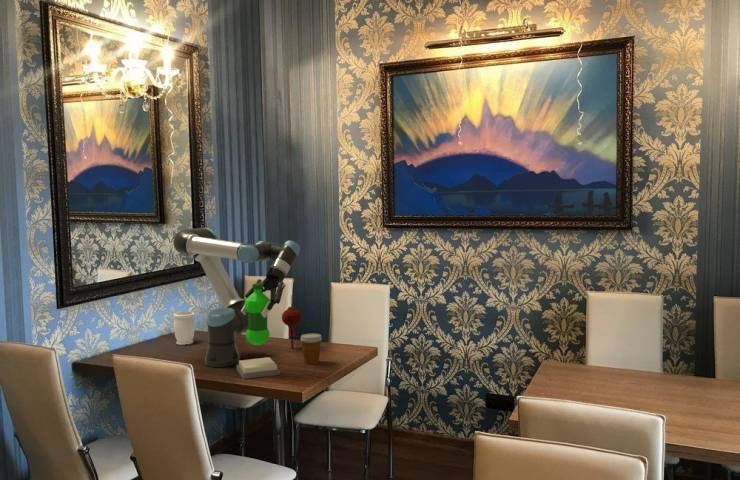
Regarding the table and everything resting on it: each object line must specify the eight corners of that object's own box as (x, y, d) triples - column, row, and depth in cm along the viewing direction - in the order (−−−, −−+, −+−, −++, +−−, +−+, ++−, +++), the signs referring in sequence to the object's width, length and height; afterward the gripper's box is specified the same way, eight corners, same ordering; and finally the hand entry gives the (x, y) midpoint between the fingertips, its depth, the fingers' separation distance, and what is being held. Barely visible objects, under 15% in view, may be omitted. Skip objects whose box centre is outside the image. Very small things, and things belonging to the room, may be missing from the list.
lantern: (304, 346, 305) (303, 285, 303) (298, 351, 296) (296, 288, 293) (286, 345, 307) (285, 284, 305) (279, 350, 298) (277, 287, 296)
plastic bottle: (271, 340, 266) (271, 282, 264) (267, 347, 256) (267, 286, 253) (248, 340, 266) (248, 281, 264) (243, 346, 256) (243, 286, 253)
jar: (174, 341, 318) (173, 312, 317) (195, 339, 322) (194, 311, 320) (174, 346, 308) (173, 316, 307) (195, 344, 311) (195, 314, 310)
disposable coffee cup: (296, 363, 274) (295, 336, 273) (308, 358, 282) (308, 332, 281) (314, 366, 269) (314, 338, 269) (326, 361, 278) (326, 334, 277)
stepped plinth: (236, 369, 266) (236, 360, 265) (271, 365, 271) (270, 356, 271) (243, 379, 252) (243, 369, 252) (279, 374, 258) (279, 365, 257)
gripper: (302, 279, 266) (278, 322, 254) (262, 275, 278) (237, 316, 266) (294, 268, 261) (269, 311, 249) (253, 264, 273) (228, 306, 261)
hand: (253, 314), depth 257 cm, fingers closed on plastic bottle, 10 cm apart
